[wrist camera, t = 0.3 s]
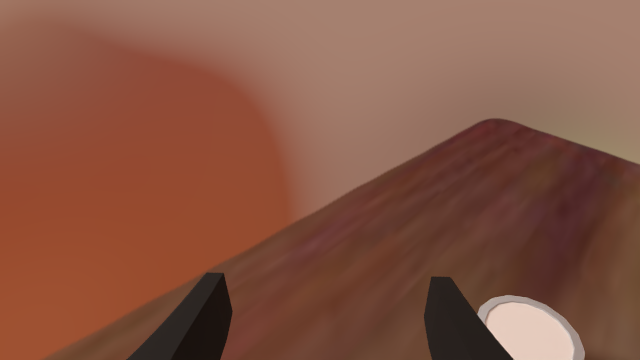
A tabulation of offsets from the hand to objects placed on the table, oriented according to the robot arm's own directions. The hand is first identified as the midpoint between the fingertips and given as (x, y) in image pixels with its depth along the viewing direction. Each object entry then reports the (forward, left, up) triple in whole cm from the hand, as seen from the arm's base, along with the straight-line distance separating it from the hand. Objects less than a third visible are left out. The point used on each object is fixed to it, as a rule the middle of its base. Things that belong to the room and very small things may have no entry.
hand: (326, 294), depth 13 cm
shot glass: (+8, -12, -21) cm, 26 cm away
